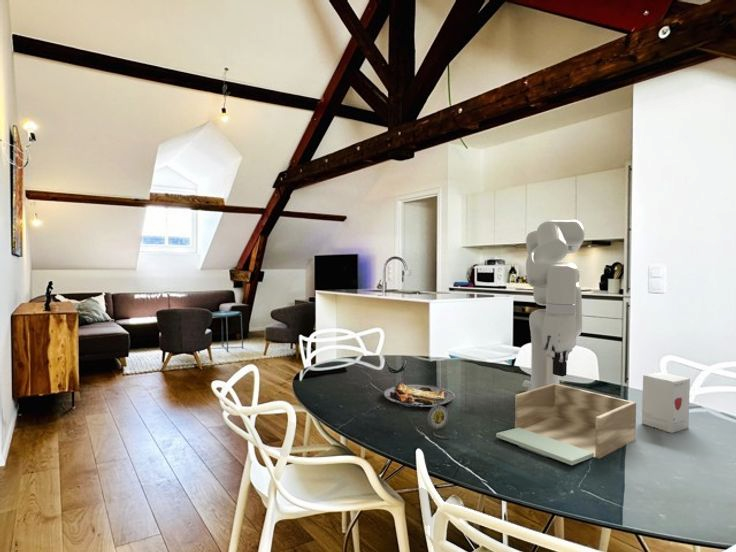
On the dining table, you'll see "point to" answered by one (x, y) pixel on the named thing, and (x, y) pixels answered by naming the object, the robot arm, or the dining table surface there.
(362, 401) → the dining table surface
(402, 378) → the dining table surface
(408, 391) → the food plate
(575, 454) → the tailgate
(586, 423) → the crate
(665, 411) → the supplement box
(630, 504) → the dining table surface
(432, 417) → the pocket watch
